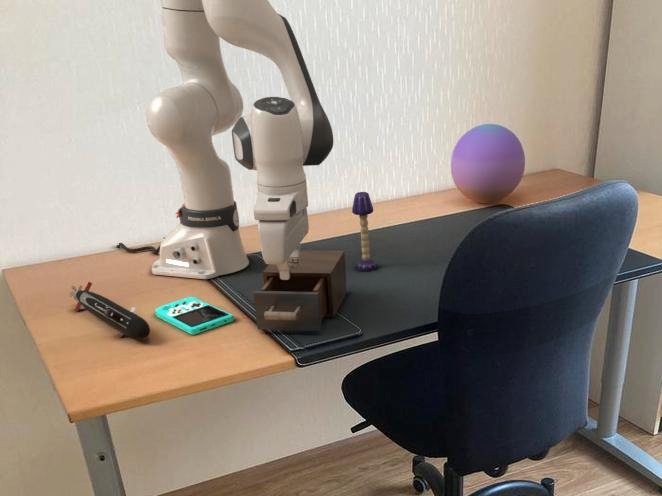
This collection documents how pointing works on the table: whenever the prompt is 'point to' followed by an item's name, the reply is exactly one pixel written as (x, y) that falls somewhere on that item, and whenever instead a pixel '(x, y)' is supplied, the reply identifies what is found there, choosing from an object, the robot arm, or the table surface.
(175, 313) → the handheld game console
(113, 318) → the submarine model
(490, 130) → the ball
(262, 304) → the drawer
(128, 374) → the table surface
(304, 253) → the cabinet
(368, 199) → the toy lamp
